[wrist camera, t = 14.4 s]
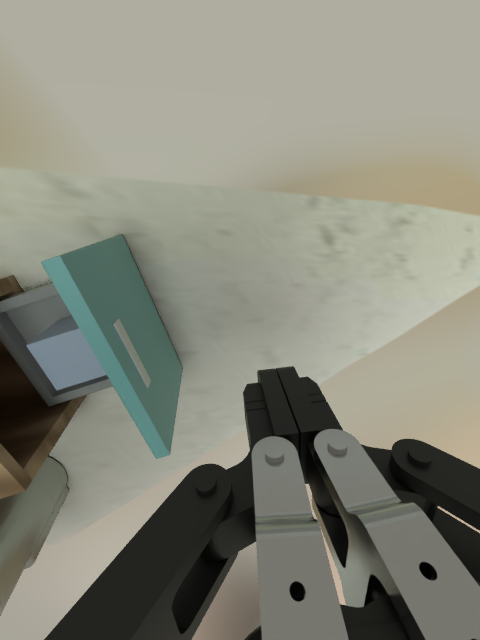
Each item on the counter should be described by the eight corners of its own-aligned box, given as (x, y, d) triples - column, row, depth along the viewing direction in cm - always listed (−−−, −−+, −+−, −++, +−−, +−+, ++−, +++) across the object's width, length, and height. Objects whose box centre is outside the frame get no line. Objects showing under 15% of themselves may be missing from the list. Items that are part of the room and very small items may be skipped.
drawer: (183, 367, 36) (171, 454, 23) (71, 403, 36) (0, 508, 23) (123, 233, 29) (62, 255, 17) (-14, 278, 29) (-175, 332, 17)
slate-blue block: (124, 345, 32) (107, 374, 26) (82, 358, 32) (56, 390, 26) (104, 305, 30) (80, 327, 24) (59, 319, 30) (25, 345, 24)
